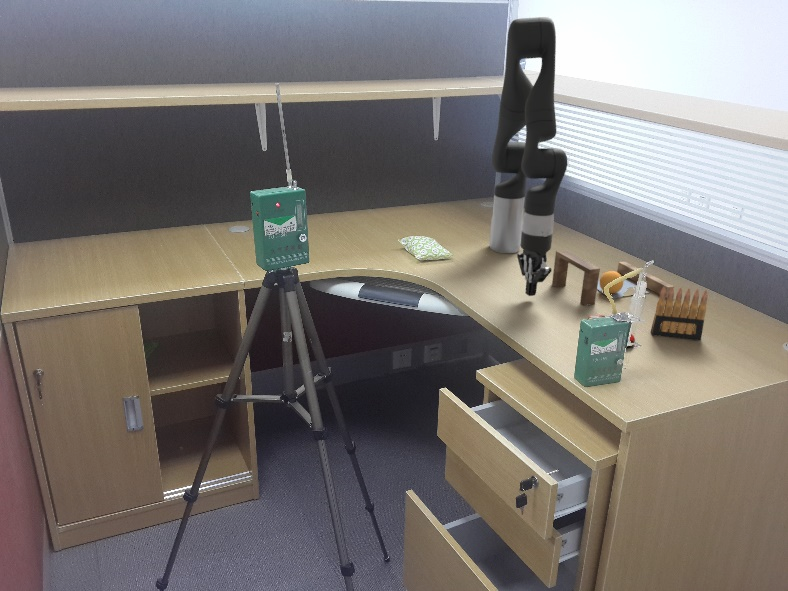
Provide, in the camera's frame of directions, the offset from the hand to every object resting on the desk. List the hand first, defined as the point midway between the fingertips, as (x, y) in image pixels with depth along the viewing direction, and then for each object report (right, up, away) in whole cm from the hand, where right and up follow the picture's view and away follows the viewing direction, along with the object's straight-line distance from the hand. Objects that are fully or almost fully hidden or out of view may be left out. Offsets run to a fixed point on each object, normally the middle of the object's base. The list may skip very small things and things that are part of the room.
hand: (530, 294), depth 170 cm
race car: (+14, -10, -18) cm, 25 cm away
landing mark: (+25, +2, +9) cm, 27 cm away
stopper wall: (+34, +3, +12) cm, 36 cm away
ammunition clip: (+30, -10, -17) cm, 36 cm away
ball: (+22, +3, +5) cm, 23 cm away
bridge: (+12, 0, +5) cm, 13 cm away
